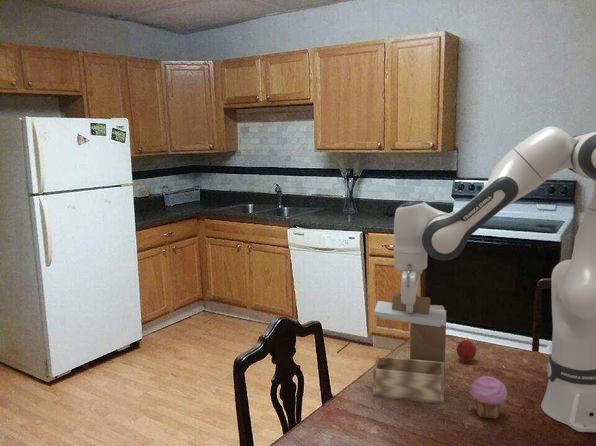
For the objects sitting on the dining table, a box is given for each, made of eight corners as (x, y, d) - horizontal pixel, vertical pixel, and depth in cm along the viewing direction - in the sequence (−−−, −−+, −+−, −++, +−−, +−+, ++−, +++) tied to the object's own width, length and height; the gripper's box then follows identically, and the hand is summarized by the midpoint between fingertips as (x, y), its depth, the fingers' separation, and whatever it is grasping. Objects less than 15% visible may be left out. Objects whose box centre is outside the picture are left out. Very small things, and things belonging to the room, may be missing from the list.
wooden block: (444, 380, 150) (446, 316, 147) (410, 378, 152) (411, 314, 149) (442, 365, 160) (443, 304, 157) (409, 363, 162) (410, 303, 159)
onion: (478, 365, 160) (479, 341, 158) (459, 365, 160) (460, 341, 158) (472, 357, 165) (472, 334, 164) (454, 357, 165) (455, 334, 164)
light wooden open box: (443, 388, 146) (444, 362, 144) (443, 404, 137) (444, 376, 136) (377, 381, 151) (377, 356, 150) (373, 396, 142) (373, 369, 141)
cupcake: (470, 421, 129) (471, 384, 127) (468, 403, 137) (469, 369, 136) (508, 425, 127) (509, 388, 125) (503, 407, 135) (505, 372, 133)
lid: (445, 317, 142) (447, 296, 141) (445, 329, 134) (447, 307, 132) (377, 308, 147) (378, 287, 146) (373, 319, 139) (375, 297, 137)
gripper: (420, 271, 127) (420, 323, 129) (423, 252, 146) (423, 298, 149) (395, 270, 129) (395, 322, 131) (401, 251, 148) (401, 297, 150)
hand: (410, 309), depth 140 cm, fingers closed on lid, 2 cm apart
